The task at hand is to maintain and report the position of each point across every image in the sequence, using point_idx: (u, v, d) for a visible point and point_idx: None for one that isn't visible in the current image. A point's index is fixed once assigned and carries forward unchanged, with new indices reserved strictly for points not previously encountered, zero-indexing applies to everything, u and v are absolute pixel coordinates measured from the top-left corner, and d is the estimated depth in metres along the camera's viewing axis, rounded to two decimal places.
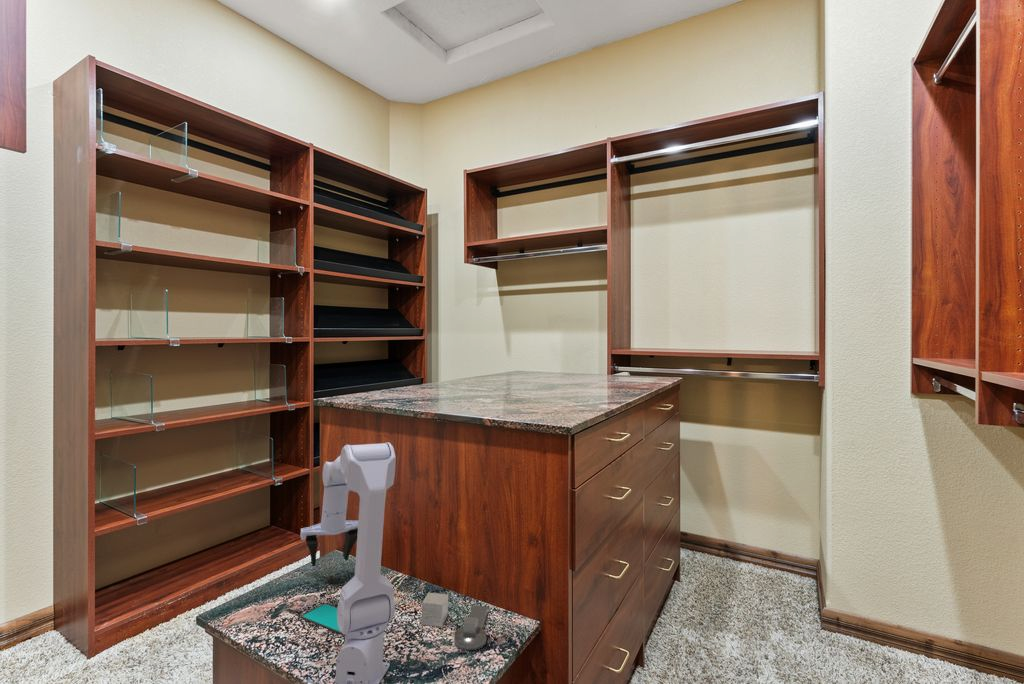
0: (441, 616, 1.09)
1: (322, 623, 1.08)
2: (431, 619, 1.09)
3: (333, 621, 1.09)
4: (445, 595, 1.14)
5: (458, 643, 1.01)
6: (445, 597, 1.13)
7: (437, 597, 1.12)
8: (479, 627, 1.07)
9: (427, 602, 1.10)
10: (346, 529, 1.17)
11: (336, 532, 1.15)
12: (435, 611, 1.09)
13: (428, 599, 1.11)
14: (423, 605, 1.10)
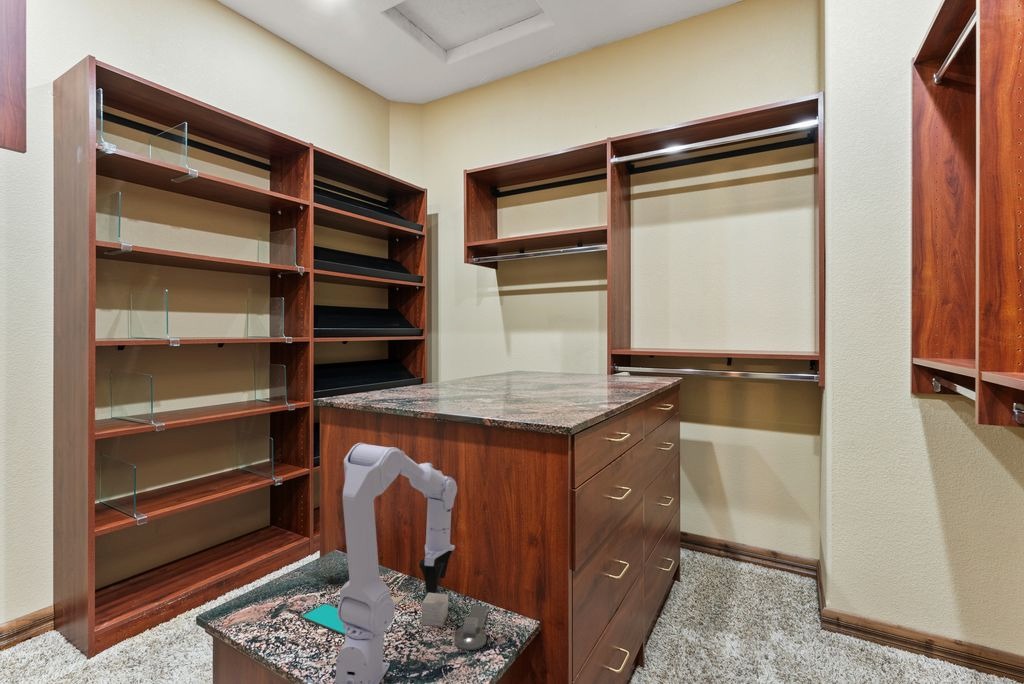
0: (441, 616, 1.09)
1: (322, 623, 1.08)
2: (431, 619, 1.09)
3: (333, 621, 1.09)
4: (445, 595, 1.14)
5: (458, 643, 1.01)
6: (445, 597, 1.13)
7: (437, 597, 1.12)
8: (479, 627, 1.07)
9: (427, 602, 1.10)
10: (425, 550, 1.10)
11: None
12: (435, 611, 1.09)
13: (428, 599, 1.11)
14: (423, 605, 1.10)
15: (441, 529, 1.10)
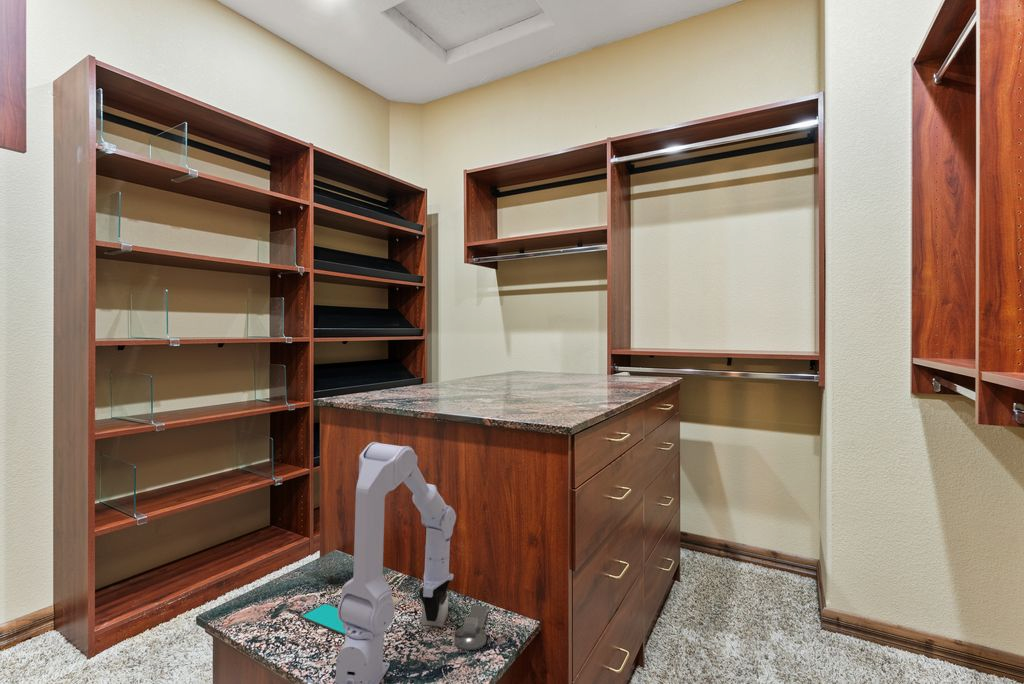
0: (441, 616, 1.09)
1: (322, 623, 1.08)
2: None
3: (333, 621, 1.09)
4: (445, 595, 1.14)
5: (458, 643, 1.01)
6: (445, 597, 1.13)
7: None
8: (479, 627, 1.07)
9: None
10: (424, 580, 1.10)
11: None
12: None
13: None
14: (423, 605, 1.10)
15: (440, 559, 1.10)
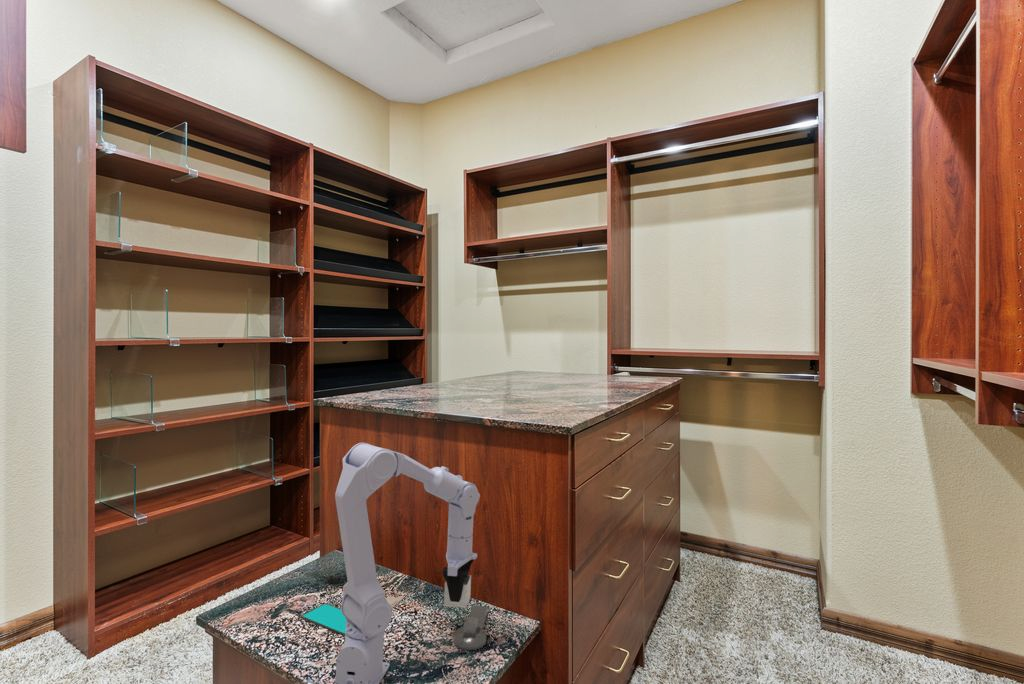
0: (465, 597, 1.05)
1: (322, 623, 1.08)
2: None
3: (333, 621, 1.09)
4: (468, 575, 1.09)
5: (458, 643, 1.01)
6: (468, 577, 1.08)
7: None
8: (479, 627, 1.07)
9: None
10: (447, 559, 1.05)
11: (446, 554, 1.08)
12: None
13: None
14: (446, 585, 1.05)
15: (459, 537, 1.05)
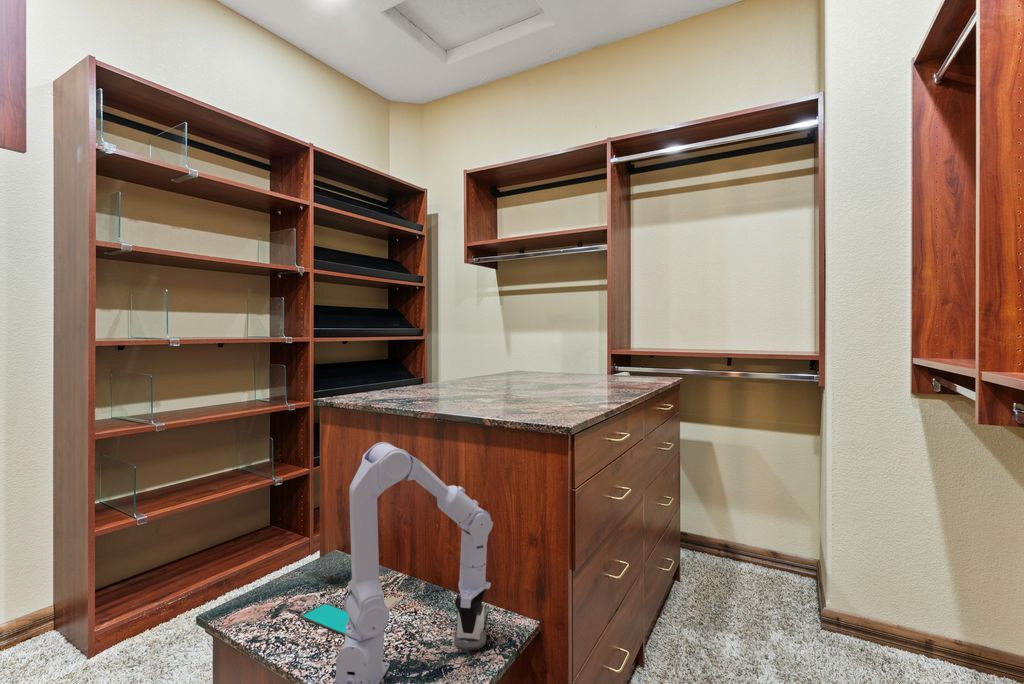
0: (478, 628, 1.01)
1: (322, 623, 1.08)
2: None
3: (333, 621, 1.09)
4: (481, 605, 1.06)
5: (458, 643, 1.01)
6: (481, 607, 1.05)
7: None
8: None
9: None
10: (459, 588, 1.02)
11: None
12: None
13: None
14: (459, 616, 1.02)
15: (470, 566, 1.02)
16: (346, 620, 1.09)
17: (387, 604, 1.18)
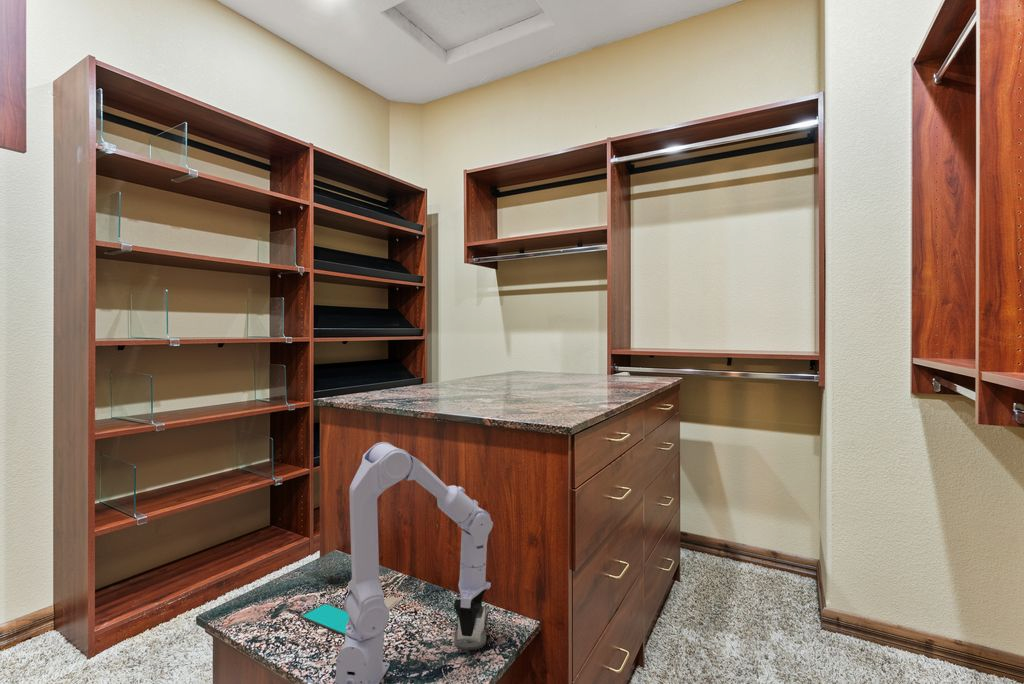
0: (479, 630, 1.01)
1: (322, 623, 1.08)
2: None
3: (333, 621, 1.09)
4: (482, 607, 1.06)
5: (458, 643, 1.01)
6: (482, 609, 1.05)
7: None
8: None
9: None
10: (459, 588, 1.02)
11: None
12: None
13: None
14: None
15: (470, 566, 1.02)
16: (346, 620, 1.09)
17: (387, 604, 1.18)
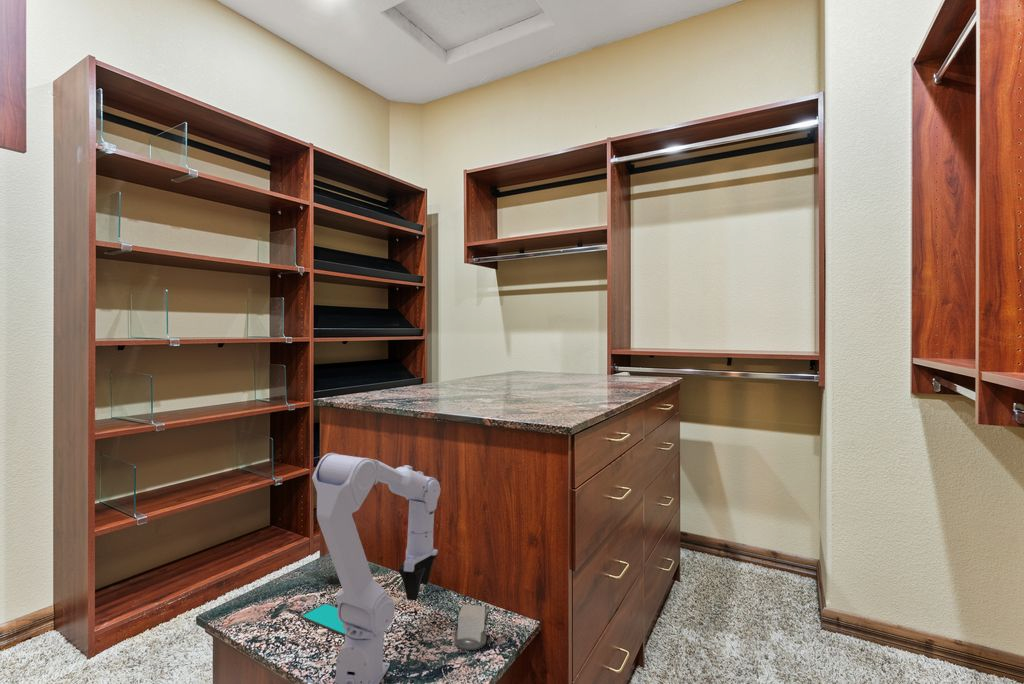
0: (479, 630, 1.01)
1: (322, 623, 1.08)
2: (468, 634, 1.01)
3: (332, 621, 1.09)
4: (482, 607, 1.06)
5: (458, 643, 1.01)
6: (482, 609, 1.05)
7: (473, 610, 1.04)
8: None
9: (464, 615, 1.02)
10: None
11: None
12: (473, 625, 1.01)
13: (464, 612, 1.03)
14: (459, 619, 1.02)
15: (423, 532, 1.04)
16: None
17: None
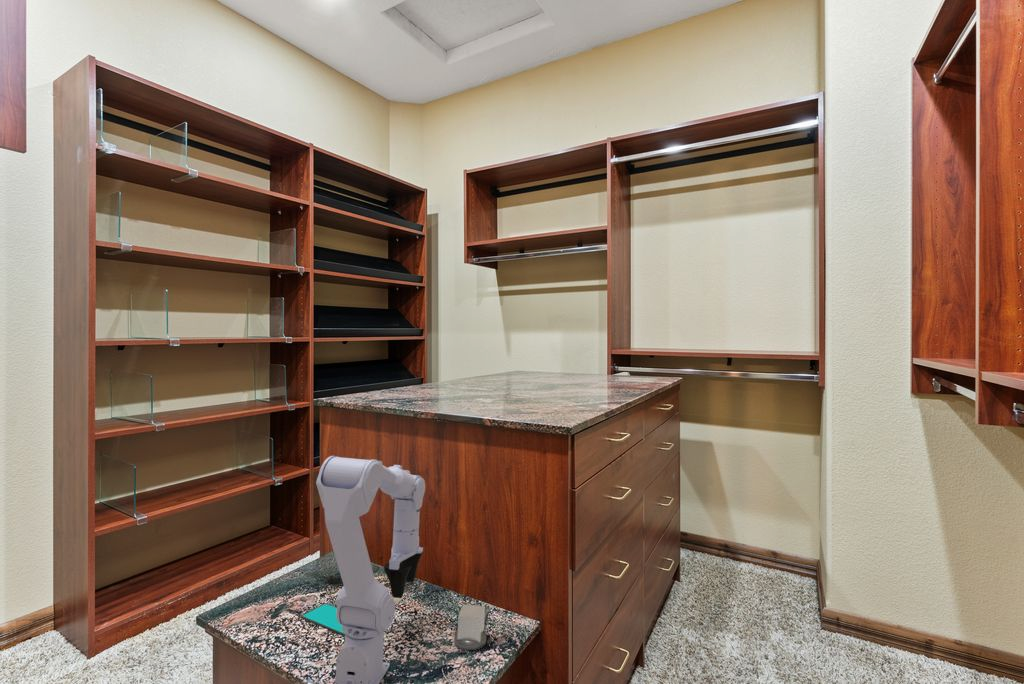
0: (479, 630, 1.01)
1: (322, 623, 1.08)
2: (468, 634, 1.01)
3: (332, 621, 1.09)
4: (482, 607, 1.06)
5: (458, 643, 1.01)
6: (482, 609, 1.05)
7: (473, 610, 1.04)
8: None
9: (464, 615, 1.02)
10: (391, 552, 1.05)
11: None
12: (473, 625, 1.01)
13: (464, 612, 1.03)
14: (459, 619, 1.02)
15: (411, 530, 1.05)
16: None
17: None
